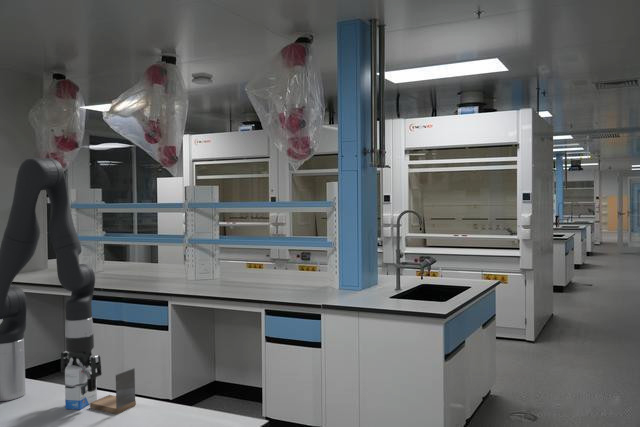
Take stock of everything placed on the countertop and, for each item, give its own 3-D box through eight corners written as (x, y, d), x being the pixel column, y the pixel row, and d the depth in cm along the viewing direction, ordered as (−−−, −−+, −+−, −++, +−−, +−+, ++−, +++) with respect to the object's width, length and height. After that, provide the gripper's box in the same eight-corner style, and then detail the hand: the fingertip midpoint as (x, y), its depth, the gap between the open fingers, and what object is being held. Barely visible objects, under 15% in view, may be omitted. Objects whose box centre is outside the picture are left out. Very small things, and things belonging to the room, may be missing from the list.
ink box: (80, 410, 158) (79, 369, 157) (64, 409, 159) (63, 368, 158) (97, 399, 166) (96, 360, 166) (83, 398, 167) (82, 359, 167)
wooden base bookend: (90, 408, 159) (89, 370, 159) (109, 399, 166) (108, 363, 165) (117, 414, 154) (116, 375, 154) (135, 405, 161) (135, 367, 160)
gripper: (51, 334, 161) (53, 389, 162) (85, 339, 155) (87, 396, 155) (73, 328, 168) (75, 381, 168) (107, 332, 161) (109, 388, 162)
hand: (81, 388), depth 162 cm, fingers open, 8 cm apart
